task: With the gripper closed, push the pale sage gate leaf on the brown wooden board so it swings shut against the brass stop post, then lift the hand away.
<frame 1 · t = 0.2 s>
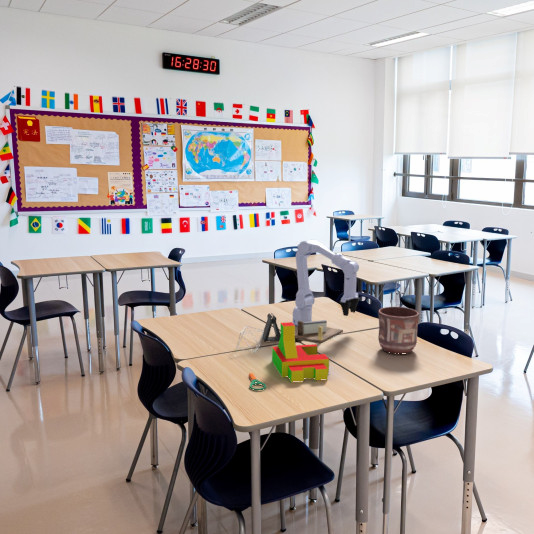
hand: (349, 313, 277), 10 cm above the table, tool pointing down, fingers open, 7 cm apart
brown wooden board: (318, 334, 276), on the table
phone stand: (271, 339, 269), on the table
pottery: (396, 351, 252), on the table
geometric polyhedron: (250, 349, 255), on the table
building blocks toy: (301, 371, 228), on the table
gate leaf: (314, 327, 274), point 4 cm above the table, hinge at 55.0°
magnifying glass: (255, 384, 215), on the table
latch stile: (320, 340, 264), resting on brown wooden board
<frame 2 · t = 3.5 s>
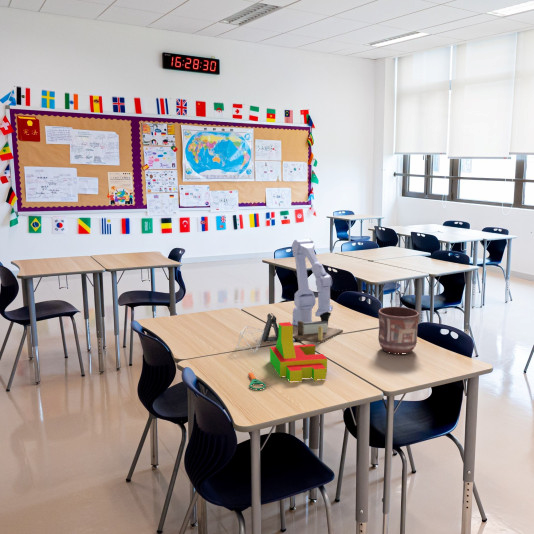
hand: (324, 327, 277), 3 cm above the table, tool pointing down, fingers closed, pressing on gate leaf
gate leaf: (315, 327, 274), point 4 cm above the table, hinge at 50.0°, touching gripper
everything else where it was.
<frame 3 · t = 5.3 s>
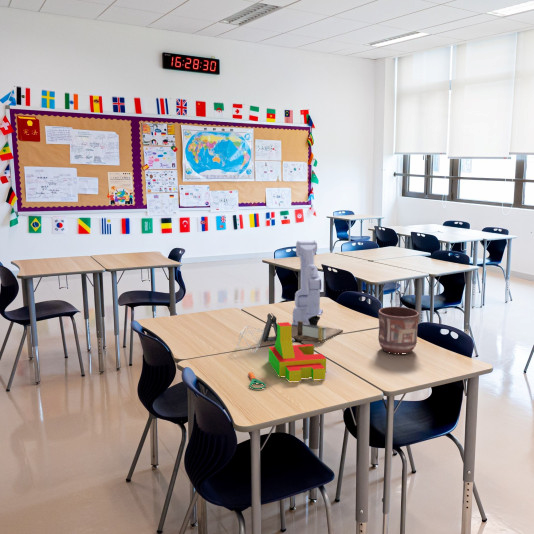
hand: (313, 331, 270), 3 cm above the table, tool pointing down, fingers closed
gate leaf: (314, 331, 268), point 4 cm above the table, hinge at -0.4°, touching gripper
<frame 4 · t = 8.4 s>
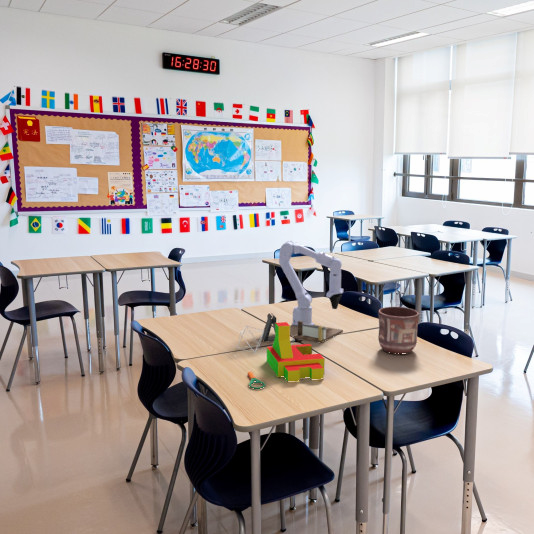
hand: (334, 308, 288), 9 cm above the table, tool pointing down, fingers closed
gate leaf: (314, 331, 268), point 4 cm above the table, hinge at -0.5°
at the end: gate leaf at +0° (first picture: +55°) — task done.
